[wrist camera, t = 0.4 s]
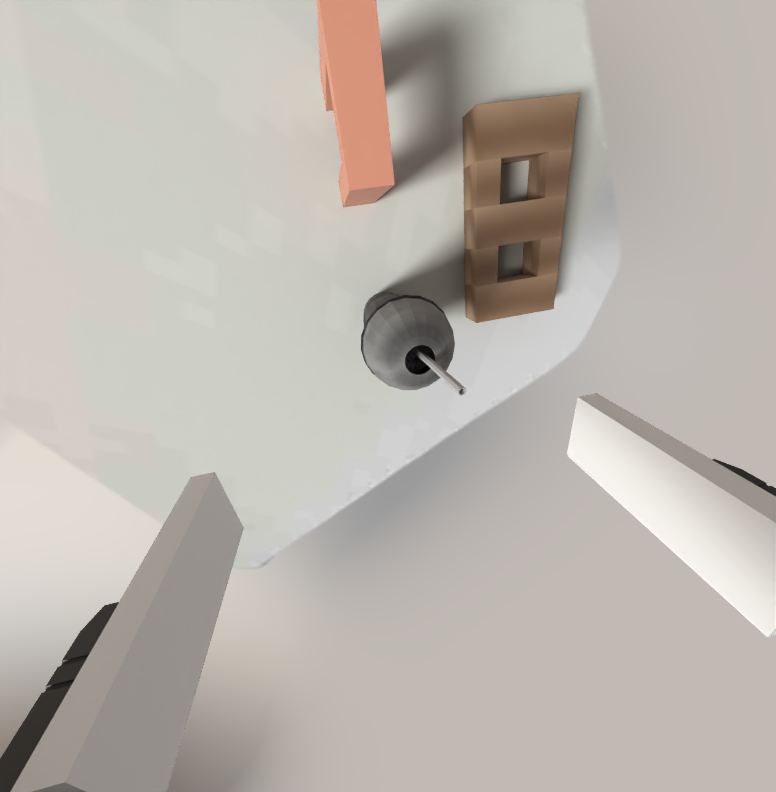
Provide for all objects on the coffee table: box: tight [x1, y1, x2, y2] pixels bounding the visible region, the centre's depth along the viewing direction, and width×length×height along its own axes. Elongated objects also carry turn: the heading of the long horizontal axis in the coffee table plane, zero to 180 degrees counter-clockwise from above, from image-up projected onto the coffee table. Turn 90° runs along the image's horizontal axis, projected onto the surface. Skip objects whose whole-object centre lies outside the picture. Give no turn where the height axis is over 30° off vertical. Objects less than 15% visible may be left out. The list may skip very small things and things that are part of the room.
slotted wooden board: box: [463, 93, 579, 323], centre depth 31 cm, size 18×9×3 cm, turn 8°
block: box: [317, 0, 395, 207], centre depth 23 cm, size 9×3×10 cm, turn 8°
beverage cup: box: [361, 293, 466, 396], centre depth 25 cm, size 7×7×20 cm
